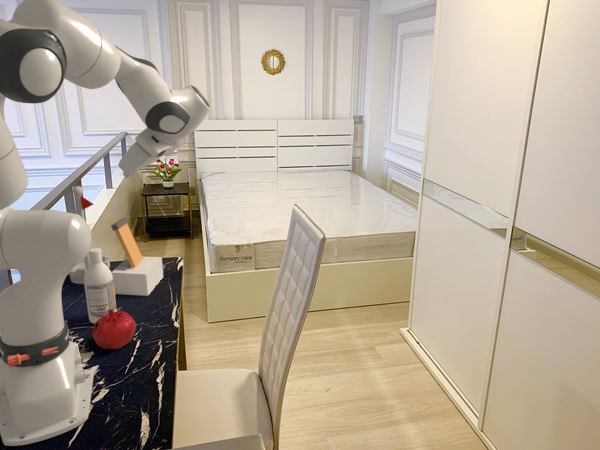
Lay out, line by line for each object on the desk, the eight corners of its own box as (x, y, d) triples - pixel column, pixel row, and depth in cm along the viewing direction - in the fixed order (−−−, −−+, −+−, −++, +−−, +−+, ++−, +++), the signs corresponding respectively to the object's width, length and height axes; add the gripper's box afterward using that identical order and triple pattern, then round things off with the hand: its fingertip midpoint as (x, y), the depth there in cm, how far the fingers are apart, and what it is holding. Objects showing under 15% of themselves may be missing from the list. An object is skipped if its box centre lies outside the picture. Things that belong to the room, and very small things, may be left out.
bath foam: (120, 319, 122) (113, 250, 116) (93, 328, 118) (84, 256, 112) (112, 309, 127) (104, 242, 121) (86, 317, 123) (76, 248, 117)
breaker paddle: (144, 258, 142) (125, 217, 138) (135, 266, 136) (116, 224, 132) (139, 259, 143) (120, 219, 139) (130, 267, 137) (110, 225, 133)
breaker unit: (163, 277, 148) (161, 255, 145) (148, 295, 135) (145, 272, 133) (131, 275, 148) (129, 254, 146) (113, 293, 136) (111, 270, 134)
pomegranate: (144, 335, 116) (142, 302, 113) (119, 357, 107) (116, 322, 104) (111, 328, 118) (108, 295, 115) (84, 348, 109) (80, 314, 106)
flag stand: (57, 281, 143) (42, 189, 133) (87, 266, 155) (75, 179, 145) (91, 288, 139) (79, 193, 130) (119, 271, 151) (110, 183, 142)
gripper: (165, 125, 126) (134, 159, 129) (135, 135, 106) (99, 174, 110) (182, 142, 127) (150, 175, 131) (155, 155, 108) (119, 193, 111)
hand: (126, 175), depth 120 cm, fingers closed
